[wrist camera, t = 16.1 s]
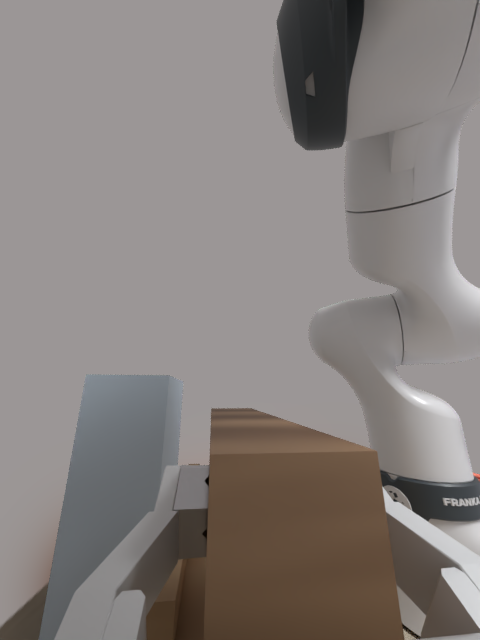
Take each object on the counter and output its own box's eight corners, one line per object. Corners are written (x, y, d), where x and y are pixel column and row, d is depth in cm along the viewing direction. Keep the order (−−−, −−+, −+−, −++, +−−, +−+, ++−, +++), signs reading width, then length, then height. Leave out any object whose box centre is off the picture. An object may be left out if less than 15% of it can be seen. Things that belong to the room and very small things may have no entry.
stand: (105, 553, 38) (128, 380, 46) (171, 549, 39) (183, 381, 47) (34, 660, 23) (86, 374, 30) (146, 649, 24) (169, 375, 31)
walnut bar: (209, 453, 23) (211, 408, 25) (251, 452, 24) (251, 408, 25) (200, 707, 4) (210, 454, 6) (410, 681, 5) (376, 451, 6)
